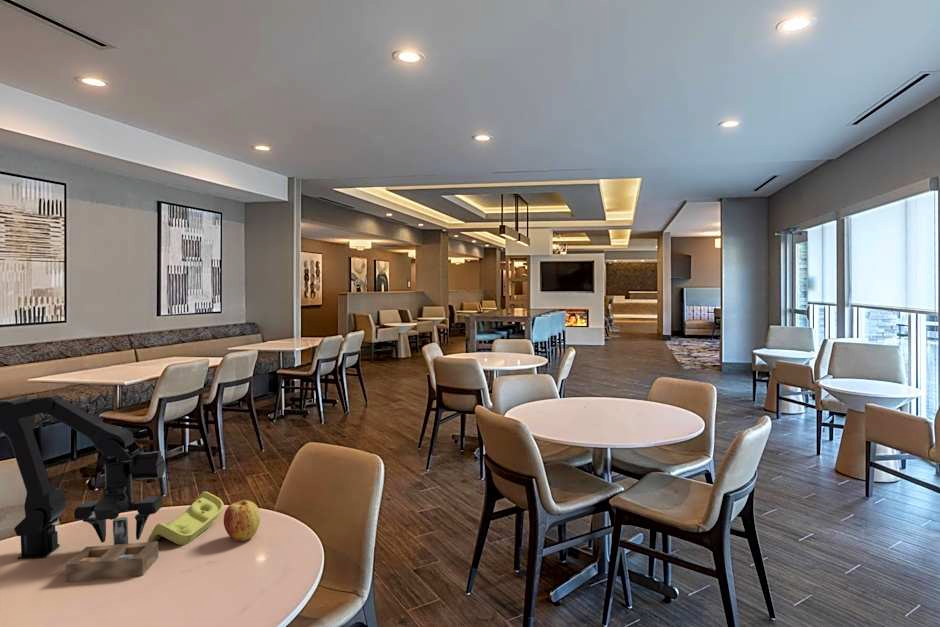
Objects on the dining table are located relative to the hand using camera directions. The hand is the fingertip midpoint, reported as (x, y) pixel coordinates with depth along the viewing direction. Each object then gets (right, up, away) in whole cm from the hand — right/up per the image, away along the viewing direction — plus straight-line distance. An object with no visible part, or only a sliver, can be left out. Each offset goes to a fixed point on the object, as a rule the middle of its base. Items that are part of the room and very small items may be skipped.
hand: (120, 540), depth 143 cm
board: (+6, -2, -12) cm, 14 cm away
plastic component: (+13, -2, +9) cm, 16 cm away
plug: (0, -2, 0) cm, 2 cm away
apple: (+30, -1, +4) cm, 30 cm away
